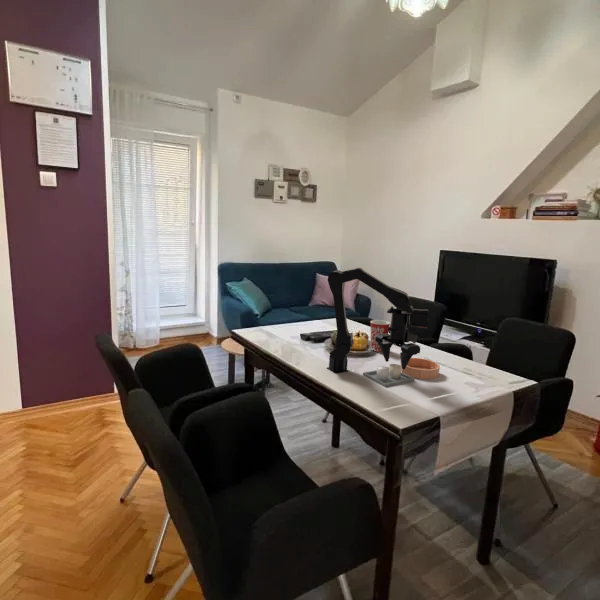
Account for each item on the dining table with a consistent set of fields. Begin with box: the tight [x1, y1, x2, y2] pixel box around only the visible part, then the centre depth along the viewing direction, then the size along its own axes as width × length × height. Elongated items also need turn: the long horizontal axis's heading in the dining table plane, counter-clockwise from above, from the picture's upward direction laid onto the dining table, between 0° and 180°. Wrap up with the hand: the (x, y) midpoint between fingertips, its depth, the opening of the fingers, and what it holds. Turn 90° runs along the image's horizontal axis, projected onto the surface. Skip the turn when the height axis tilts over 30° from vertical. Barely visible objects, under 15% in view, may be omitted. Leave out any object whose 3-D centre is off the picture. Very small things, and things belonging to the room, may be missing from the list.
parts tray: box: [362, 369, 416, 388], centre depth 158 cm, size 14×13×1 cm
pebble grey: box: [376, 365, 389, 381], centre depth 156 cm, size 4×4×4 cm
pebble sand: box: [388, 363, 401, 379], centre depth 159 cm, size 4×4×4 cm
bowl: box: [401, 357, 440, 380], centre depth 165 cm, size 14×14×4 cm
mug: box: [369, 319, 391, 353], centre depth 192 cm, size 13×9×14 cm
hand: (395, 365), depth 159 cm, fingers open, 9 cm apart
